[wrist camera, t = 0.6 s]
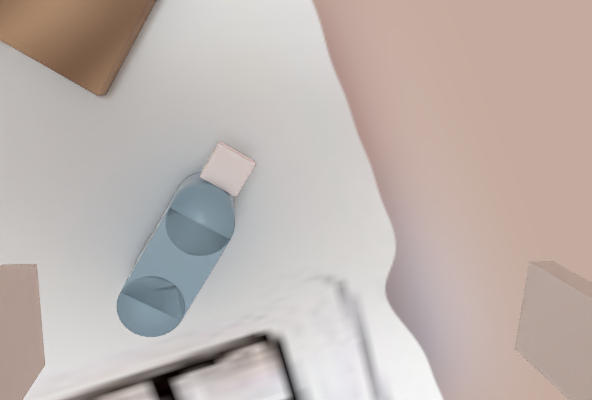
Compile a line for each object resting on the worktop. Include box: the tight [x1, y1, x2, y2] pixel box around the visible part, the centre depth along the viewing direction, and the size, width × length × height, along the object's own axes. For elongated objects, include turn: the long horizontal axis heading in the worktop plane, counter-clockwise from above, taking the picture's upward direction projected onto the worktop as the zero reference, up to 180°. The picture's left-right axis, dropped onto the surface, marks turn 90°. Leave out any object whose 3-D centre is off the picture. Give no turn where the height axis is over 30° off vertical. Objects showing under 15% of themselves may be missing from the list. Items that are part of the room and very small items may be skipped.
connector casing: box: [117, 141, 255, 337], centre depth 31 cm, size 4×12×6 cm, turn 148°
